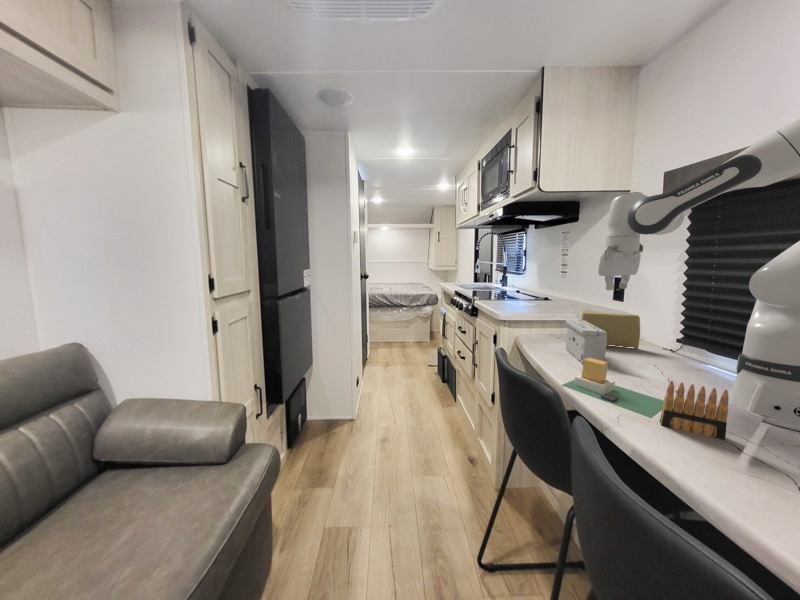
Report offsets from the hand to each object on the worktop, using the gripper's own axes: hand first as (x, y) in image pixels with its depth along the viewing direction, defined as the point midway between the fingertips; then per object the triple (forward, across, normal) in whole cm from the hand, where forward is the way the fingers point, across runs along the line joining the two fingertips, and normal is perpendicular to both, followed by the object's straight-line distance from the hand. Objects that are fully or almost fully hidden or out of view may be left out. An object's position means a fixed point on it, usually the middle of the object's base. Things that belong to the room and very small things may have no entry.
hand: (616, 289), depth 100 cm
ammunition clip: (+29, -24, -27) cm, 47 cm away
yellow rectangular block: (+28, -18, -4) cm, 33 cm away
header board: (+29, -18, -9) cm, 35 cm away
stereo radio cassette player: (+29, +12, +14) cm, 35 cm away
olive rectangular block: (+29, +39, +16) cm, 51 cm away
